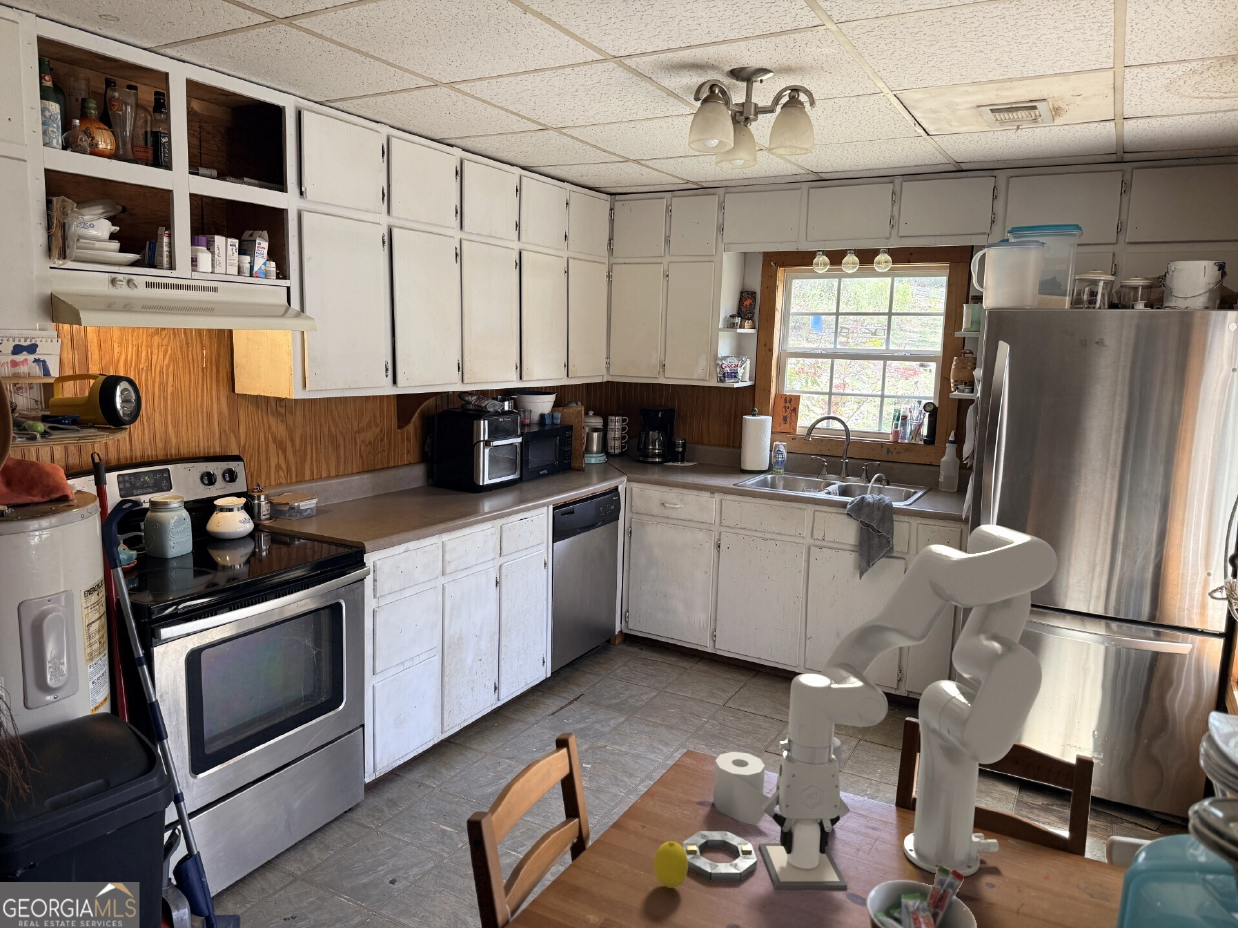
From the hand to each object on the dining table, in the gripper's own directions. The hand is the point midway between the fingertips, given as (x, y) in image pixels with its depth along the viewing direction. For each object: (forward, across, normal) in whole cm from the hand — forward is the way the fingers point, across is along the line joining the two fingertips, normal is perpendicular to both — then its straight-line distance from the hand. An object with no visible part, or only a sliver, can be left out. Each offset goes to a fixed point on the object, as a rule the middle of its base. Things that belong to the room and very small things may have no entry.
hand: (803, 848), depth 141 cm
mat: (+3, 0, 0) cm, 3 cm away
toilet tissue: (+4, -7, +19) cm, 20 cm away
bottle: (+4, +7, +13) cm, 15 cm away
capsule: (+2, 0, 0) cm, 2 cm away
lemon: (+3, -24, -6) cm, 25 cm away
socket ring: (+3, -14, +2) cm, 15 cm away
